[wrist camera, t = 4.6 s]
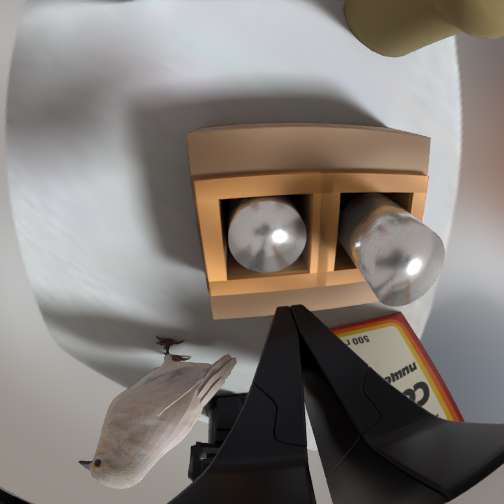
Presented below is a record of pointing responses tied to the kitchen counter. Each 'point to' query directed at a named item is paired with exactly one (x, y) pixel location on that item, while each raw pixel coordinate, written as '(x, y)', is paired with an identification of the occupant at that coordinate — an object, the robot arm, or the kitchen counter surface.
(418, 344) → the baking soda box
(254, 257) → the steel peg
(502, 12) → the olive pawn
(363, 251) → the steel peg
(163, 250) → the kitchen counter surface
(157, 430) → the bird
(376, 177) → the wooden compartment holder
